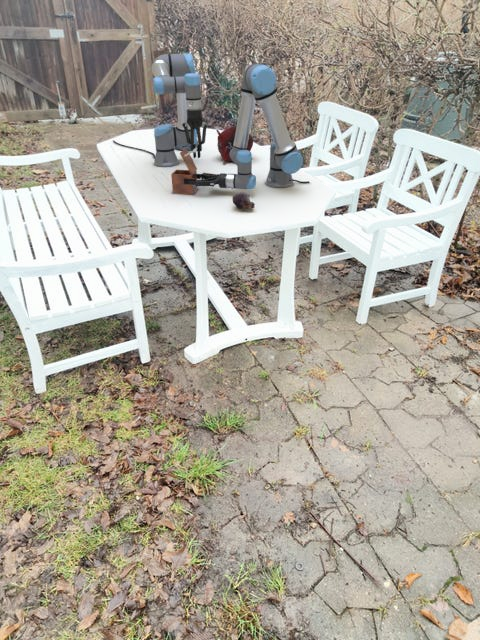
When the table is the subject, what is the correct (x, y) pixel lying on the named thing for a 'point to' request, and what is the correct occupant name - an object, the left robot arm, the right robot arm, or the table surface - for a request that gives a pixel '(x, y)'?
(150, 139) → the table surface
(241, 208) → the rock
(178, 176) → the chest
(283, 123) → the right robot arm
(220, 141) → the decorative skull
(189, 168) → the lid
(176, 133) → the left robot arm
